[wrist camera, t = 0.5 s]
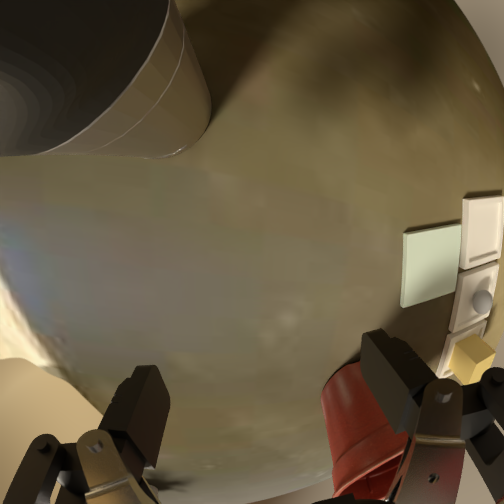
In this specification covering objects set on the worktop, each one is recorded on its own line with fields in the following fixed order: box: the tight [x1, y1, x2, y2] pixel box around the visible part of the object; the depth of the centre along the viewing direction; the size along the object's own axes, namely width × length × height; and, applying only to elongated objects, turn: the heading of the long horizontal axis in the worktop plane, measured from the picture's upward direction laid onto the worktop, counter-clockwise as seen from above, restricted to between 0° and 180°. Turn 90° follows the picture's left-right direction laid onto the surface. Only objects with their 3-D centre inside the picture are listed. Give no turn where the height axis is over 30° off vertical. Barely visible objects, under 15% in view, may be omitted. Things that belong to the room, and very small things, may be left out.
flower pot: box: [321, 361, 409, 500], centre depth 26 cm, size 16×16×16 cm
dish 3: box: [436, 319, 487, 378], centre depth 33 cm, size 9×9×1 cm
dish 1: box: [459, 195, 504, 270], centre depth 27 cm, size 9×9×1 cm
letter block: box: [448, 334, 496, 385], centre depth 30 cm, size 5×5×6 cm
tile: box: [400, 223, 462, 308], centre depth 28 cm, size 9×9×1 cm
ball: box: [472, 290, 493, 314], centre depth 28 cm, size 4×4×4 cm
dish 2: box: [448, 262, 499, 333], centre depth 30 cm, size 9×9×1 cm
